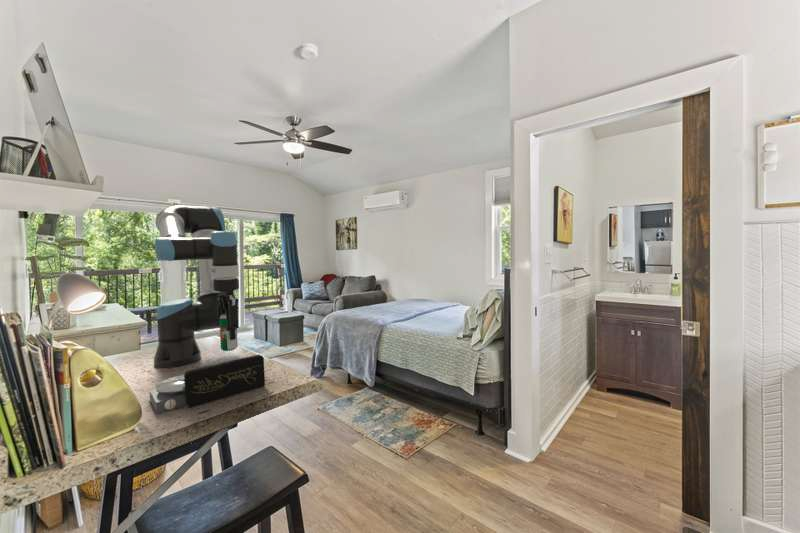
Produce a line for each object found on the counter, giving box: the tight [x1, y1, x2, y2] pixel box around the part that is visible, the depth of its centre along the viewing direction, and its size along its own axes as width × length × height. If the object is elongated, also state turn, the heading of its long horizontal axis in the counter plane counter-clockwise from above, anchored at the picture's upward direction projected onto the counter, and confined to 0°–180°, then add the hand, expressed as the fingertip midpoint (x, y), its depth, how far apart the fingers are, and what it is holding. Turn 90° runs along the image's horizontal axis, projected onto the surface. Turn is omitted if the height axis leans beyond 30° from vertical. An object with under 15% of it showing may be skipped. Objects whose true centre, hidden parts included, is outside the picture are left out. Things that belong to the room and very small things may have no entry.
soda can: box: [219, 313, 239, 352], centre depth 114 cm, size 5×5×12 cm
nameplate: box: [183, 354, 266, 409], centre depth 100 cm, size 21×2×10 cm, turn 132°
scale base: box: [149, 388, 187, 415], centre depth 98 cm, size 12×13×3 cm
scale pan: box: [155, 374, 185, 394], centre depth 98 cm, size 11×11×2 cm
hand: (229, 346), depth 114 cm, fingers closed on soda can, 5 cm apart
